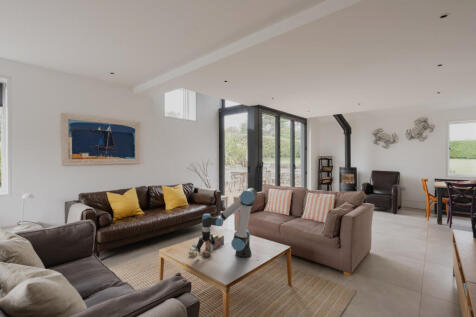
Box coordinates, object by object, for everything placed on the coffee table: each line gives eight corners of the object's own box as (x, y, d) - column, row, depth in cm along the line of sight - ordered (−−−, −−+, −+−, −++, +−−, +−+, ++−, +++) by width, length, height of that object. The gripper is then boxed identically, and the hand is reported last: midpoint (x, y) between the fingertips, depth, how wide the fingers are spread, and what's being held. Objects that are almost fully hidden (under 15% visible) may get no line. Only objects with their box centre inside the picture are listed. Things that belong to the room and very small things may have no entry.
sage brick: (195, 253, 222) (195, 248, 222) (192, 253, 220) (192, 249, 220) (193, 250, 227) (193, 246, 227) (190, 251, 225) (190, 247, 225)
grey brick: (199, 249, 230) (199, 245, 230) (196, 250, 227) (196, 246, 227) (194, 248, 234) (194, 244, 234) (192, 249, 231) (192, 245, 231)
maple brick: (197, 255, 216) (197, 251, 216) (195, 257, 213) (195, 252, 213) (191, 254, 218) (191, 250, 218) (189, 256, 215) (189, 251, 215)
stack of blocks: (219, 243, 247) (219, 231, 247) (224, 244, 243) (224, 232, 243) (205, 249, 230) (205, 237, 230) (209, 251, 226) (209, 238, 226)
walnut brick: (209, 256, 214) (209, 252, 214) (206, 257, 212) (206, 253, 211) (205, 254, 218) (205, 250, 218) (202, 255, 216) (202, 251, 216)
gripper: (214, 226, 226) (213, 248, 226) (192, 232, 208) (192, 256, 209) (219, 228, 221) (218, 250, 221) (197, 234, 203) (196, 258, 204)
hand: (205, 253), depth 215 cm, fingers open, 13 cm apart
